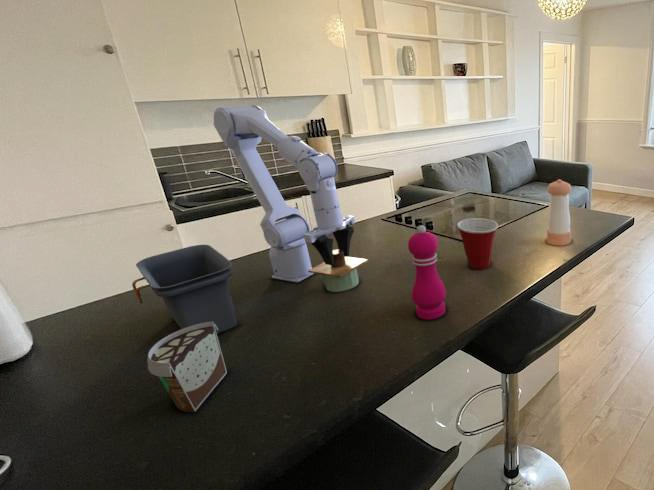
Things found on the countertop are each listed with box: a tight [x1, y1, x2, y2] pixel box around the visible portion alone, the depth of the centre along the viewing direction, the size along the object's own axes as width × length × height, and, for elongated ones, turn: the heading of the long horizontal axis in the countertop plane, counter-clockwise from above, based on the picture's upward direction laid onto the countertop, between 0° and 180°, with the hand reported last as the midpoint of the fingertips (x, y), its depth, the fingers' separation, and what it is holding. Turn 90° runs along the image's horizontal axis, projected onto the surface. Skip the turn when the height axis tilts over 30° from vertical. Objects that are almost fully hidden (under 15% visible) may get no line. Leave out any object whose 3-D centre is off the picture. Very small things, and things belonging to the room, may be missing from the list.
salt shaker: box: [546, 178, 573, 246], centre depth 121 cm, size 7×7×19 cm
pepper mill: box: [407, 224, 447, 321], centre depth 85 cm, size 7×7×20 cm
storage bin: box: [131, 244, 238, 335], centre depth 86 cm, size 21×16×14 cm
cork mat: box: [308, 248, 369, 278], centre depth 101 cm, size 10×10×4 cm
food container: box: [146, 322, 228, 413], centre depth 66 cm, size 12×6×10 cm, turn 5°
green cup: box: [322, 267, 360, 293], centre depth 103 cm, size 8×8×5 cm
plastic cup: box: [456, 217, 499, 270], centre depth 109 cm, size 11×11×12 cm
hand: (337, 259), depth 101 cm, fingers open, 5 cm apart
